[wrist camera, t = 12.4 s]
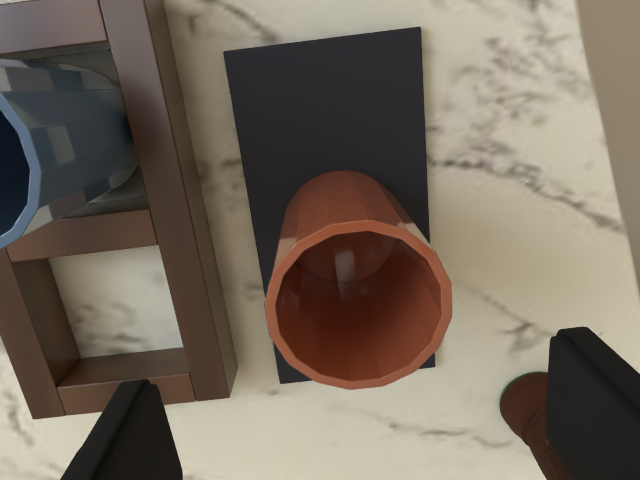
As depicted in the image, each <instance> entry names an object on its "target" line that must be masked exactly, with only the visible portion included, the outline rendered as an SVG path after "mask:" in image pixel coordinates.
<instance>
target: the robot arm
mask: <svg viewBox="0 0 640 480" xmlns="http://www.w3.org/2000/svg"><path fill="white" fill-rule="evenodd" d="M545 433H546V437H547V439H548V442H549V444H550V445H551V447H552V448H553V450H554V451H555V453H556V454H557V456H558V457H559V459H560V460H561V462H562V463H563V465H564V467H565V468H566V470H567V471H568V473H569V474H570V476H571V477H572V479H573V480H640V374H639V373H638V372H637V371H636V370H635V369H634V368H632V367H631V366H630V365H629V364H628V363H627V362H626V361H625V360H624V359H622V358H621V357H620V356H619V355H618V354H617V353H616V352H615V351H613V350H612V349H611V348H610V347H609V346H608V345H607V344H606V343H605V342H603V341H602V340H601V339H600V338H599V337H598V336H597V335H596V334H595V333H593V332H592V331H591V330H590V329H589V328H587V327H576V328H567V329H560V330H559V331H558V332H557V335H556V336H553V337H552V338H551V339H550V348H549V365H548V381H547V397H546V413H545ZM60 480H183V473H182V468H181V464H180V461H179V457H178V454H177V450H176V447H175V443H174V440H173V436H172V433H171V429H170V426H169V423H168V419H167V416H166V412H165V409H164V405H163V402H162V398H161V395H160V391H159V388H158V386H157V385H156V384H151V383H150V381H149V380H148V379H138V380H130V381H123V382H121V383H120V384H119V386H118V387H117V389H116V391H115V392H114V394H113V396H112V397H111V399H110V401H109V402H108V404H107V406H106V407H105V409H104V411H103V412H102V414H101V416H100V417H99V419H98V421H97V422H96V424H95V426H94V427H93V429H92V431H91V432H90V434H89V436H88V437H87V439H86V441H85V442H84V444H83V446H82V447H81V448H80V449H79V450H78V452H77V453H76V455H75V456H74V458H73V460H72V461H71V463H70V465H69V466H68V468H67V469H66V471H65V473H64V474H63V476H62V478H61V479H60Z"/></svg>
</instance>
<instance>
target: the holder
mask: <svg viewBox="0 0 640 480" xmlns="http://www.w3.org/2000/svg"><path fill="white" fill-rule="evenodd" d="M107 49H111V52H112V56H113V60H114V64H115V68H116V72H117V76H118V80H119V84H120V88H121V93H122V97H123V101H124V105H125V109H126V113H127V117H128V121H129V125H130V129H131V133H132V138H133V142H134V146H135V150H136V154H137V158H138V162H139V166H140V170H141V174H142V178H143V183H144V187H145V191H146V195H147V197H146V198H138V199H130V200H121V201H113V202H104V203H96V204H88V205H85V206H83V207H81V208H79V209H77V210H75V211H73V212H71V213H70V214H68V215H66V216H64V217H62V218H60V219H58V220H56V221H55V222H53V223H51V224H49V225H47V226H45V227H43V228H41V229H39V230H38V231H36V232H34V233H32V234H30V235H28V236H26V237H24V238H22V239H21V240H19V241H17V242H15V243H13V244H11V245H9V246H7V247H6V248H4V249H2V250H0V336H1V338H2V341H3V343H4V346H5V348H6V351H7V354H8V356H9V359H10V361H11V364H12V366H13V369H14V372H15V374H16V377H17V379H18V382H19V384H20V387H21V390H22V392H23V395H24V397H25V400H26V402H27V405H28V408H29V410H30V413H31V415H32V418H33V419H42V418H51V417H60V416H66V415H76V414H86V413H95V412H103V411H104V409H105V407H106V406H107V404H108V402H109V401H110V399H111V397H112V396H113V394H114V392H115V391H116V389H117V387H118V386H119V384H120V383H121V382H123V381H130V380H138V379H148V380H149V381H150V383H151V384H156V385H157V386H158V388H159V391H160V395H161V398H162V402H163V405H168V404H177V403H187V402H195V401H196V400H197V401H205V400H215V399H224V398H230V395H231V392H232V388H233V384H234V380H235V376H236V372H237V369H238V367H237V362H236V357H235V352H234V348H233V343H232V338H231V333H230V328H229V323H228V318H227V313H226V308H225V304H224V299H223V294H222V289H221V284H220V279H219V274H218V269H217V264H216V259H215V255H214V250H213V245H212V240H211V235H210V230H209V225H208V220H207V215H206V210H205V206H204V201H203V196H202V191H201V186H200V181H199V176H198V171H197V166H196V162H195V157H194V152H193V147H192V142H191V137H190V132H189V127H188V122H187V117H186V113H185V108H184V103H183V98H182V93H181V88H180V83H179V78H178V73H177V68H176V64H175V59H174V54H173V49H172V44H171V39H170V34H169V29H168V24H167V20H166V15H165V10H164V5H163V0H30V1H22V2H14V3H7V4H0V59H10V60H28V59H36V58H44V57H52V56H60V55H68V54H75V53H83V52H91V51H99V50H107ZM158 244H159V248H160V252H161V256H162V260H163V264H164V269H165V273H166V277H167V281H168V285H169V289H170V293H171V297H172V301H173V305H174V309H175V314H176V318H177V322H178V326H179V330H180V334H181V338H182V342H183V346H184V348H176V349H167V350H158V351H149V352H140V353H131V354H122V355H113V356H104V357H95V358H86V359H80V356H79V353H78V350H77V347H76V344H75V341H74V338H73V335H72V332H71V329H70V326H69V323H68V320H67V317H66V314H65V311H64V308H63V305H62V302H61V299H60V296H59V293H58V290H57V287H56V284H55V281H54V278H53V275H52V272H51V269H50V266H49V263H48V260H47V258H51V257H60V256H68V255H77V254H86V253H94V252H103V251H111V250H120V249H128V248H137V247H146V246H154V245H158Z"/></svg>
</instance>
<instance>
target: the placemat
mask: <svg viewBox="0 0 640 480" xmlns="http://www.w3.org/2000/svg"><path fill="white" fill-rule="evenodd" d="M223 53H224V59H225V65H226V71H227V77H228V82H229V88H230V94H231V100H232V106H233V112H234V117H235V123H236V129H237V135H238V141H239V147H240V152H241V158H242V164H243V170H244V176H245V182H246V187H247V193H248V199H249V205H250V211H251V217H252V222H253V228H254V234H255V240H256V246H257V251H258V257H259V263H260V269H261V275H262V281H263V286H264V292H265V298H266V294H267V289H268V285H269V280H270V276H271V271H272V266H273V262H274V257H275V253H276V248H277V244H278V239H279V234H280V230H281V226H282V222H283V218H284V214H285V211H286V207H287V205H288V203H289V202H290V200H291V198H292V197H293V195H294V194H295V193H296V192H297V190H298V189H299V188H300V187H301V186H303V185H304V184H305V183H306V182H308V181H309V180H311V179H312V178H314V177H316V176H318V175H320V174H323V173H327V172H331V171H337V170H349V171H356V172H360V173H363V174H366V175H368V176H370V177H372V178H374V179H376V180H377V181H379V182H380V183H381V184H383V185H384V186H385V187H386V188H387V189H388V190H389V191H390V192H391V193H392V194H393V195H394V196H395V198H396V199H397V201H398V202H399V203H400V205H401V206H402V207H403V209H404V210H405V211H406V213H407V214H408V215H409V217H410V218H411V220H412V221H413V222H414V224H415V225H416V226H417V228H418V229H419V230H420V232H421V233H422V234H423V236H424V237H425V239H426V240H427V241H428V243H429V244H430V236H429V212H428V188H427V164H426V141H425V117H424V93H423V69H422V46H421V27H413V28H405V29H397V30H389V31H382V32H374V33H366V34H358V35H350V36H342V37H334V38H326V39H318V40H310V41H302V42H294V43H286V44H278V45H270V46H262V47H254V48H246V49H238V50H230V51H224V52H223ZM273 345H274V351H275V356H276V362H277V368H278V374H279V380H280V384H285V383H294V382H303V381H312V379H311V378H309V377H308V376H306V375H305V374H303V373H302V372H300V371H299V370H297V369H296V368H294V367H292V366H291V365H289V363H288V362H287V361H286V359H285V358H284V357H283V355H282V354H281V352H280V351H279V349H278V348H277V346H276V345H275V343H274V342H273ZM431 367H435V354H434V353H433V354H432V355H431V356H430V357H429V358H428V359H427V360H426V361H425V362H424V363H423V364H422V365H421V366H420V367H419V368H418V369H422V368H431Z"/></svg>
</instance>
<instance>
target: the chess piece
mask: <svg viewBox="0 0 640 480" xmlns="http://www.w3.org/2000/svg"><path fill="white" fill-rule="evenodd" d="M547 381H548V373H543V372H534V373H528V374H525V375H522V376H520V377H518V378H516V379H515V380H514V381H512V382H511V383H510V384H509V385H508V386H507V387H506V388H505V390H504V392H503V393H502V396H501V399H500V411H501V415H502V417H503V418H504V420H505V422H506V423H507V424H508V425H509V427H510V428H511V430H512V431H513V432H514V433H515V434H516V435H518V436H519V437H520V438H522V440H523V441H524V443H525V444H526V445H528V446H529V447H530V449H531V451H532V453H533V455H534V457H535V459H536V461H537V463H538V465H539V467H540V469H541V470H542V472H543V474H544V476H545V477H546V479H547V480H573V479H572V477H571V476H570V474H569V473H568V471H567V470H566V468H565V467H564V465H563V463H562V462H561V460H560V459H559V457H558V456H557V454H556V453H555V451H554V450H553V448H552V447H551V445H550V444H549V442H548V439H547V437H546V433H545V413H546V397H547Z"/></svg>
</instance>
